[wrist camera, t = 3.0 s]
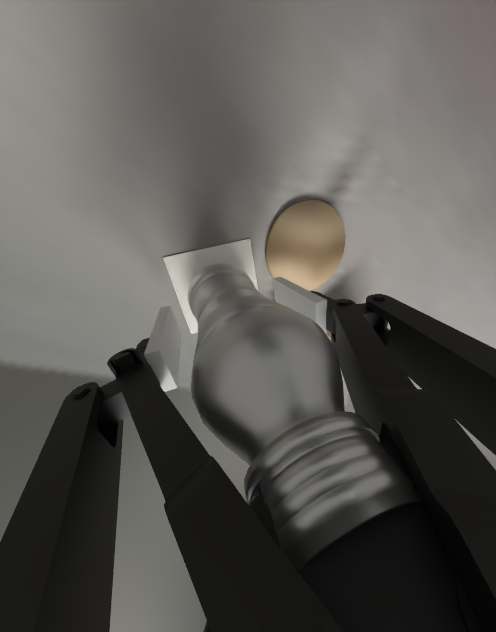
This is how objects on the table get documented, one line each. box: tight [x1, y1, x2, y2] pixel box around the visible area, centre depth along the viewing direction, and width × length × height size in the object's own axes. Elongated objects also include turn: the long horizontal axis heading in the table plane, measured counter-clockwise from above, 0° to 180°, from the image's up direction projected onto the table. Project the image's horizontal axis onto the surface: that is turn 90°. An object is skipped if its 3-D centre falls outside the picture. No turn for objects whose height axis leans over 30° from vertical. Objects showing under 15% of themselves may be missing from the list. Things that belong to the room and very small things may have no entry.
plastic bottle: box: [187, 263, 422, 571], centre depth 13 cm, size 6×7×20 cm
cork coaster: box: [265, 200, 345, 291], centre depth 22 cm, size 10×10×1 cm
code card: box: [163, 239, 258, 334], centre depth 21 cm, size 9×9×1 cm
